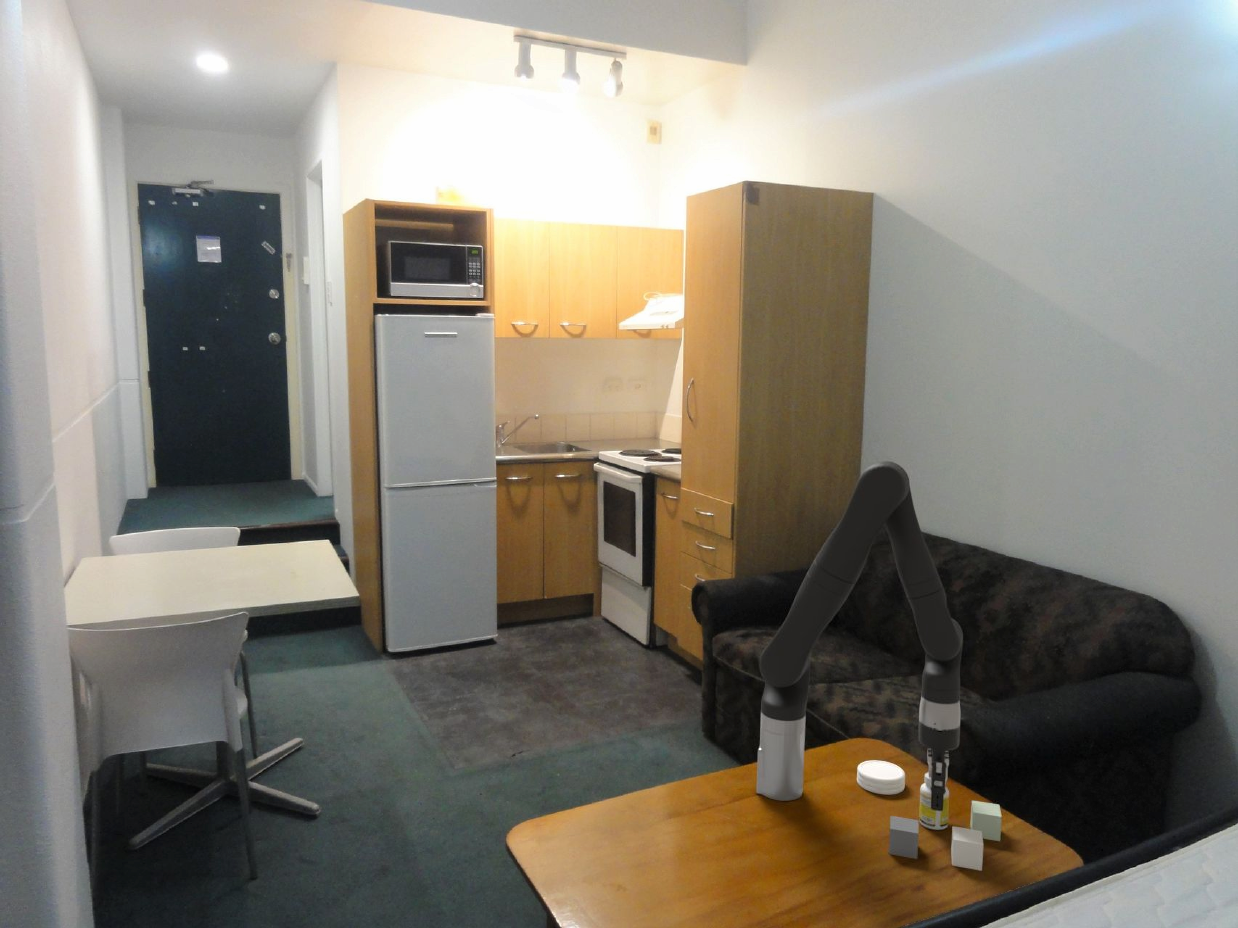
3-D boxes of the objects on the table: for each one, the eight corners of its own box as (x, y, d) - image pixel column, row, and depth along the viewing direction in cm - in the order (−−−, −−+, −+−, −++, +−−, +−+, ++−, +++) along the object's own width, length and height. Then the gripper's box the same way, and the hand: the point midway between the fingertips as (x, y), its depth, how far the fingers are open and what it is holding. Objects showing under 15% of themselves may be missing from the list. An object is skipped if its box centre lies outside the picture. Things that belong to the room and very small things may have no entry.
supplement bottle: (943, 817, 175) (946, 770, 174) (951, 831, 170) (953, 783, 169) (915, 815, 176) (918, 769, 175) (922, 829, 170) (925, 781, 169)
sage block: (971, 836, 168) (973, 812, 168) (970, 824, 173) (971, 800, 172) (1000, 841, 167) (1001, 816, 166) (997, 828, 171) (999, 804, 171)
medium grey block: (888, 854, 162) (889, 828, 161) (889, 840, 166) (890, 815, 166) (917, 859, 160) (918, 833, 160) (917, 845, 165) (918, 820, 164)
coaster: (848, 776, 193) (848, 761, 193) (888, 772, 195) (889, 757, 195) (871, 798, 183) (872, 782, 183) (913, 793, 186) (914, 777, 185)
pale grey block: (952, 865, 158) (953, 839, 158) (951, 851, 163) (952, 826, 162) (981, 870, 157) (983, 844, 156) (980, 856, 161) (981, 830, 161)
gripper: (919, 704, 179) (916, 781, 180) (919, 731, 165) (916, 813, 167) (958, 709, 176) (955, 786, 178) (961, 736, 163) (958, 819, 164)
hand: (936, 799), depth 172 cm, fingers open, 8 cm apart
